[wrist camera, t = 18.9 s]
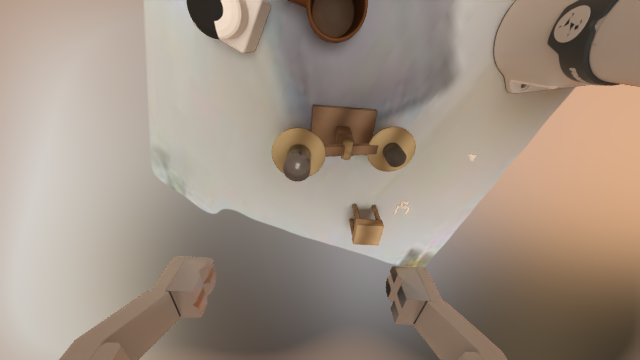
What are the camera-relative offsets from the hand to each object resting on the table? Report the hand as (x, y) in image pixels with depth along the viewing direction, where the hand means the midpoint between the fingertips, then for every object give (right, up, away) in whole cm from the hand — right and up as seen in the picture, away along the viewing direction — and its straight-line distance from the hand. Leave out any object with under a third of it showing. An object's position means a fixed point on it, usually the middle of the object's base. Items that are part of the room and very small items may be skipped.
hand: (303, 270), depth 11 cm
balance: (+5, +14, +35) cm, 38 cm away
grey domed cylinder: (-2, +8, +24) cm, 25 cm away
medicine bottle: (-11, +30, +25) cm, 41 cm away
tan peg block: (+11, -4, +46) cm, 48 cm away
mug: (+1, +31, +25) cm, 40 cm away
